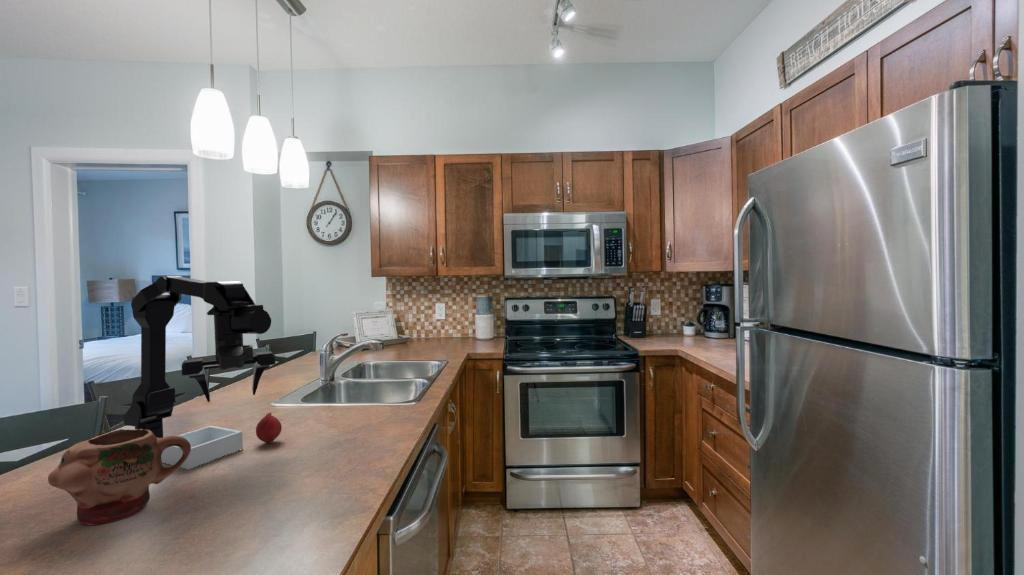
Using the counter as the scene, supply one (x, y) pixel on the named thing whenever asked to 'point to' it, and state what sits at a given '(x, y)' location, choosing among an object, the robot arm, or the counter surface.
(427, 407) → the counter surface
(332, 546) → the counter surface
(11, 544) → the counter surface
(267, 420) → the onion
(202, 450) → the bin
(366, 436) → the counter surface
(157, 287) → the robot arm
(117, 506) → the tan novelty mug
